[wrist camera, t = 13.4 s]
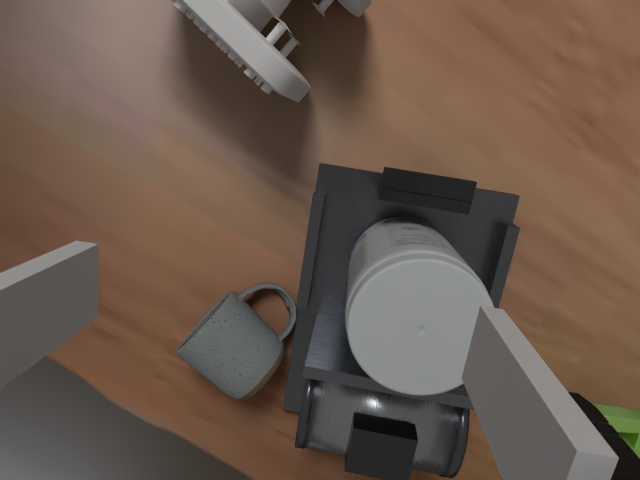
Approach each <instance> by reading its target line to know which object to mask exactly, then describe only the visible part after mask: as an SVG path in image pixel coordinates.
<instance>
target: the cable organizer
mask: <svg viewBox="0 0 640 480" xmlns="http://www.w3.org/2000/svg"><path fill="white" fill-rule="evenodd" d="M171 1H172V2H173V3H174V5H175V6H176V7H177V8H178V9H179V10H180V11H182V12H183V13H184V14H185V13H186V11H187V10H188V12H187V13H186V14H185V15H186V16H187V17H188V18H189V19H190V20H191V19H192V20H193V23H194V24H195V25H196V26H197V27H199V28H200V30H201V31H202V32H203V33H206V34H207V36H208V37H209V38H210V39H211V40H212V41H213V42H216V43H215V44H216V45H217V46H218V47H219V48H220V47H221V48H220V50H222V51H223V52H224V53H227V54H228V55H227V56H228V57H229V58H230V59H231V60H233V61H234V62H235V64H237V66H238V67H239V68H240V67H242V66H243V64H244V65H245V66H246V67H247V69H246V70H245V71H244V73H245V74H246V75H247V76H248V77H249V78H250V79H253V78H254V77H255V76H257V78H256V79H255V80H254V82H255V83H256V84H257V85H258V86H259V85H260V83H261V82H263V83H264V84H263V85H262V86H261V89H262V90H263V91H264V92H265V93H267V94H269V93H270V92H271V91H272V90H274V91H275V92H277V93H278V94H280V95H282V96H285V97H287V98H289V99H291V100H293V101H295V102H300V100H301V99H302V98H303V97H304V96H305V95H306V94H307V92H308V91H309V90H310V89H311V87H310V85H309V83H308V82H307V80H306V79H305V78H304V77H303V75H302V74H301V73H300V72H299V71H298V70H297V69H296V68H295V67H294V66H293V65H292V64H291V63H290V62H289V61H288V60H287V59H286V57H287V56H288V55H289V53H290V52H291V51H292V50H293V49H294V47H295V46H296V45H297V44H299V42H298V41H297V39H296V38H295V37H293V36H292V35H290V34H289V33H288V34H289V35H290V36H291V38H290V40H289V41H288V42H287V43H286V44H285V46H284V47H283V48H282V49H281V50H280V52H279V51H278V50H277V49H276V48H275V47H274V46H273V45H274V44H275V43H276V42H277V40H278V39H279V38H280V37H281V35H282V34H283V33H284V32H285V31H286V29H287V30H288V31H289V32H290V30H289V29H288V27H287V26H286V24H285V23H284V22H283V21H281V20H280V19H278V18H279V17H280V15H281V14H282V13H283V11H284V10H285V9H286V7H287V6H288V4H289V3H290V2H291V0H171ZM333 1H334V0H322V1H321V3H320V4H319V5H317V4H316V3H315V4H314V3H313V2H312V1H311V2H312V3H313V5H314V6H315V8H316V9H317V11H318V12H320V13H321V14H322V15H323V16H324V17H325V15H324V14H325V13H324V12H325V11H326V9H327V8H328V7H329V6H330V5H331V3H332V2H333ZM337 1H338V2H339V3H340V4H341V5H342V6H343V7H344V8H345V9H347V10H348V11H349V12H350V13H352V14H353V15H355V16H357V17H360V16H361V15H362V14H363V12H364V11H365V10H366V9H367V8H368V7H369V5H370V4H371V0H337ZM272 17H274V18H275V19H276V20H279V21H280V22H279V23H278V24H277V25H276V26H275V28H274V29H273V30H272V31H271V33H270V34H269V35H268V36H267V37H266V38H265V37H264V36H263V35H262V34H261V33H260V32H261V31H262V30H263V28H264V27H265V26H266V25H267V23H268V22H269V21H270V20H271V19H272ZM325 18H326V17H325ZM290 33H291V32H290ZM291 34H292V33H291ZM299 45H300V44H299ZM300 47H301V46H300ZM301 48H302V47H301Z"/></svg>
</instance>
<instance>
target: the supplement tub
mask: <svg viewBox="0 0 640 480" xmlns="http://www.w3.org/2000/svg"><path fill="white" fill-rule="evenodd" d="M480 306H485V307H491V308H494V306H493V303H492V300H491V298H490V296H489V294H488V292H487V290H486V288H485V286H484V284H483V283H482V281H481V280H480V278H479V277H478V276H477V275H476V274H475V272H474V271H473V270H472V269H471V268H470V266H469V265H468V264H467V263H466V262H465V261H464V259H463V258H462V257H461V256H460V255H459V254H458V253H457V251H456V250H455V249H454V248H453V247H452V246H451V245H450V243H449V242H448V241H447V240H446V239H445V238H444V236H443V235H442V234H441V233H440V232H439V231H438V230H437V229H435V228H434V227H433V226H431V225H430V224H428V223H426V222H424V221H422V220H419V219H416V218H411V217H393V218H389V219H385V220H382V221H380V222H378V223H376V224H374V225H372V226H371V227H370V228H368V229H367V230H366V231H365V232H364V233H363V234H362V235H361V236H360V238H359V239H358V241H357V242H356V244H355V246H354V248H353V250H352V253H351V256H350V262H349V272H348V285H347V298H346V312H345V323H346V331H347V335H348V341H349V345H350V348H351V351H352V353H353V355H354V357H355V359H356V361H357V362H358V364H359V365H360V367H361V368H362V369H363V370H364V371H365V373H366V374H368V375H369V376H370V377H371V378H372V379H373V380H375V381H376V382H378V383H379V384H381V385H382V386H384V387H386V388H389V389H391V390H393V391H396V392H399V393H403V394H408V395H419V396H422V395H433V394H439V393H443V392H447V391H449V390H452V389H454V388H457V387H458V386H460V385H462V384H464V383H463V380H462V374H463V370H464V366H465V362H466V359H467V355H468V351H469V347H470V343H471V339H472V336H473V332H474V328H475V324H476V320H477V316H478V312H479V309H480Z"/></svg>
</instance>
